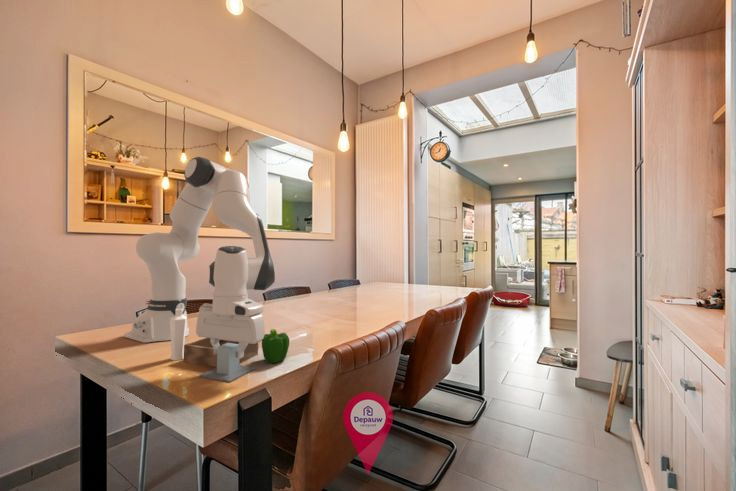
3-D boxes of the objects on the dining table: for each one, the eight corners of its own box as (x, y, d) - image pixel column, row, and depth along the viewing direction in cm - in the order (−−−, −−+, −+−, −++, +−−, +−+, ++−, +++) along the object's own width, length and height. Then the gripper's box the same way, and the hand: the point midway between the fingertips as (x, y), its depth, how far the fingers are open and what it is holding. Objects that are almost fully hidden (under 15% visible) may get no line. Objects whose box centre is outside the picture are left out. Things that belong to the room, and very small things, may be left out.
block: (216, 372, 88) (217, 346, 88) (227, 367, 91) (228, 342, 92) (228, 374, 86) (229, 348, 86) (239, 369, 90) (239, 344, 90)
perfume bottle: (189, 357, 100) (191, 309, 100) (174, 361, 96) (176, 311, 96) (181, 354, 102) (183, 307, 103) (166, 358, 99) (168, 309, 99)
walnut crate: (183, 361, 96) (184, 344, 96) (217, 348, 109) (217, 333, 109) (227, 369, 92) (228, 351, 92) (257, 354, 104) (258, 338, 105)
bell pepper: (276, 354, 105) (277, 323, 105) (294, 359, 101) (295, 327, 101) (254, 361, 98) (255, 328, 98) (272, 367, 94) (273, 332, 94)
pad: (199, 376, 86) (199, 375, 86) (226, 364, 95) (226, 363, 95) (230, 382, 83) (230, 380, 83) (255, 368, 92) (255, 367, 92)
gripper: (191, 304, 89) (189, 354, 89) (254, 310, 83) (252, 364, 83) (208, 300, 95) (207, 348, 95) (268, 306, 89) (267, 356, 89)
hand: (228, 355), depth 89 cm, fingers open, 6 cm apart
